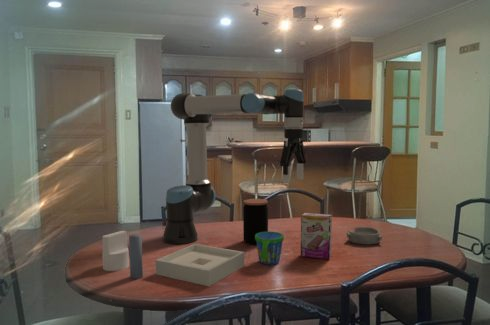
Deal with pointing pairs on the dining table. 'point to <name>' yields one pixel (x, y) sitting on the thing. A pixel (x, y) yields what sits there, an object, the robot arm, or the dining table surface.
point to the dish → (364, 235)
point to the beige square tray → (200, 264)
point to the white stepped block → (115, 251)
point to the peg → (135, 256)
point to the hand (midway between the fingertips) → (293, 181)
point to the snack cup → (269, 247)
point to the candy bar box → (316, 235)
